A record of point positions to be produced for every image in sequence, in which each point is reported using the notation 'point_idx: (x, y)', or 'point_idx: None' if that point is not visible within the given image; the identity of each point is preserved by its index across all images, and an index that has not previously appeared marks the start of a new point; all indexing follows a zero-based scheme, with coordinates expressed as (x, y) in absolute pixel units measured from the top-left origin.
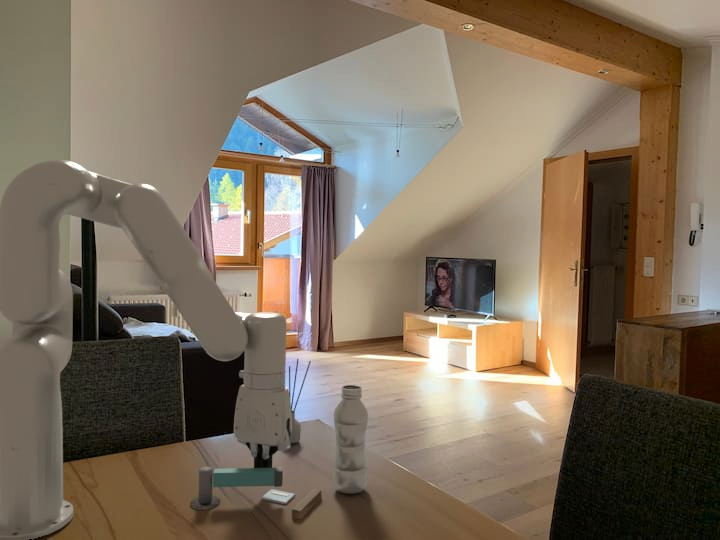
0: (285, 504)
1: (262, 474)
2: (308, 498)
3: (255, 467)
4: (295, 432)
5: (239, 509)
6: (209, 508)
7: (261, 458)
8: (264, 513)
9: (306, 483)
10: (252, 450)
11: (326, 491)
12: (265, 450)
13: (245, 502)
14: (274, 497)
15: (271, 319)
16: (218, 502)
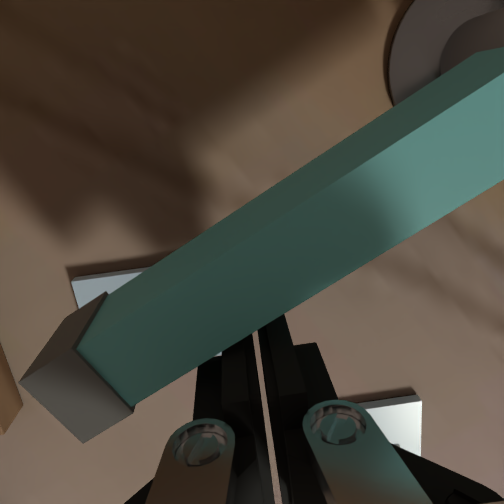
0: (77, 277)
1: (161, 285)
2: None
3: (286, 342)
4: None
5: (251, 107)
6: (407, 10)
7: (247, 417)
8: (101, 143)
9: (143, 478)
10: (369, 450)
11: (11, 467)
12: (192, 501)
13: None
14: None
15: None
16: (400, 96)
